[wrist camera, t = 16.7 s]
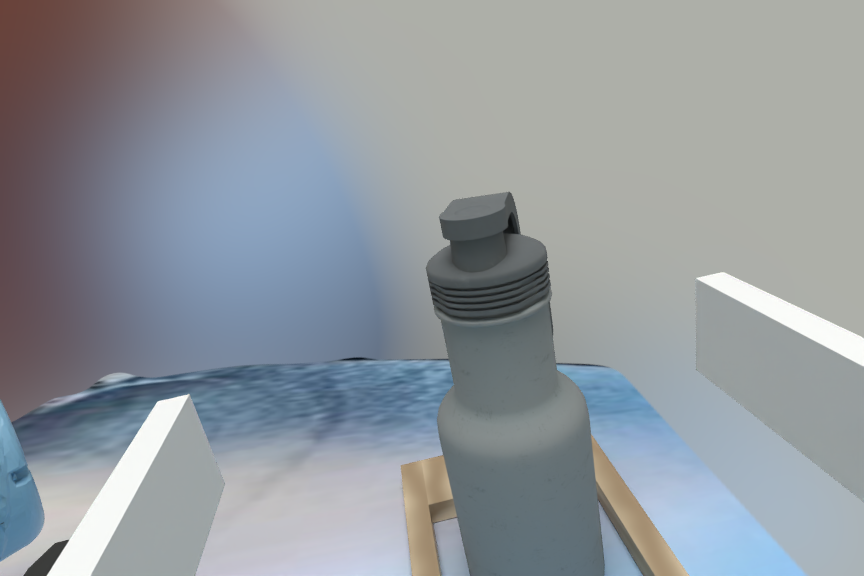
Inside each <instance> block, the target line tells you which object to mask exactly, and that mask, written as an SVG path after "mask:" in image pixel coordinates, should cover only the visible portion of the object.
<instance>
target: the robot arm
mask: <svg viewBox="0 0 864 576" xmlns="http://www.w3.org/2000/svg"><path fill="white" fill-rule="evenodd" d="M696 370H697V371H698V372H700V373H701V374H702V375H703V376H705V377H706V378H707V379H708V380H710V381H711V382H712V383H714V384H715V385H716V386H717V387H719V388H720V389H721V390H722V391H724V392H725V393H726V394H727V395H729V396H730V397H731V398H733V399H734V400H735V401H736V402H738V403H739V404H740V405H741V406H743V407H744V408H745V409H746V410H748V411H749V412H750V413H752V414H753V415H754V416H755V417H757V418H758V419H759V420H760V421H762V422H763V423H764V424H765V425H767V426H768V427H769V428H771V429H772V430H773V431H774V432H776V433H777V434H778V435H779V436H781V437H782V438H783V439H784V440H786V441H787V442H788V443H789V444H791V445H792V446H793V447H795V448H796V449H797V450H798V451H800V452H801V453H802V454H804V455H805V456H806V457H807V458H808V459H810V460H811V461H812V462H814V463H815V464H816V465H817V466H819V467H820V468H821V469H822V470H824V471H825V472H826V473H828V474H829V475H830V476H831V477H833V478H834V479H835V480H836V481H838V482H839V483H840V484H841V485H843V486H844V487H845V488H847V489H848V490H849V491H850V492H852V493H853V494H854V495H855V496H857V497H858V498H859V499H860V500H862V501H863V502H864V338H862V337H860V336H858V335H856V334H854V333H852V332H850V331H848V330H845V329H843V328H841V327H839V326H837V325H835V324H833V323H831V322H828V321H826V320H824V319H822V318H820V317H818V316H816V315H814V314H811V313H809V312H807V311H805V310H803V309H801V308H799V307H796V306H794V305H792V304H790V303H788V302H786V301H784V300H782V299H779V298H777V297H775V296H773V295H771V294H768V293H766V292H765V291H762V290H760V289H758V288H756V287H754V286H752V285H750V284H747V283H745V282H743V281H741V280H739V279H737V278H734V277H732V276H730V275H728V274H726V273H724V272H721V273H717V274H712V275H708V276H704V277H700V278H696ZM27 466H28V464H27V462H26V459H25V457H24V453H23V450H22V448H21V445H20V443H19V440H18V438H17V435H16V433H15V431H14V428H13V426H12V424H11V421H10V419H9V417H8V415H7V413H6V410H5V408H4V406H3V404H2V402H1V400H0V562H1V561H2V560H4V559H5V558H7V557H9V556H10V555H12V554H13V553H15V552H17V551H18V550H20V549H22V548H23V547H25V546H27V545H28V544H30V543H31V542H32V541H33V540H34V539H35V538H36V537H37V536H38V535H39V533H40V532H41V530H42V527H43V524H44V510H43V506H42V503H41V499H40V496H39V493H38V490H37V487H36V485H35V482H34V479H33V477H32V475H31V472H30V470H28V468H27ZM224 485H225V482H224V480H223V477H222V475H221V472H220V470H219V467H218V465H217V462H216V460H215V457H214V455H213V452H212V450H211V447H210V445H209V442H208V440H207V437H206V435H205V432H204V430H203V427H202V425H201V422H200V420H199V417H198V415H197V412H196V410H195V407H194V405H193V402H192V400H191V397H190V395H184V396H180V397H176V398H171V399H167V400H163V401H158V402H157V403H156V405H155V407H154V408H153V410H152V411H151V413H150V414H149V416H148V418H147V419H146V421H145V422H144V424H143V425H142V427H141V429H140V430H139V432H138V433H137V435H136V436H135V438H134V440H133V441H132V443H131V444H130V446H129V447H128V449H127V451H126V452H125V454H124V455H123V457H122V458H121V460H120V462H119V463H118V465H117V466H116V468H115V469H114V471H113V473H112V474H111V476H110V477H109V479H108V480H107V482H106V484H105V485H104V487H103V488H102V490H101V491H100V493H99V494H98V496H97V498H96V499H95V501H94V502H93V504H92V505H91V507H90V509H89V510H88V512H87V513H86V515H85V516H84V518H83V520H82V521H81V523H80V524H79V526H78V527H77V529H76V531H75V532H74V534H73V535H72V537H71V538H70V540H66V541H62V542H58V543H55V544H54V545H53V546H52V547H51V548H50V549H48V550H47V551H46V552H45V553H44V554H43V555H42V556H41V557H40V558H39V559H38V560H37V561H36V562H35V563H34V564H33V565H32V566H31V567H29V568H28V570H27V571H26V573H25V574H24V576H195V574H196V571H197V568H198V565H199V562H200V559H201V556H202V553H203V550H204V547H205V544H206V541H207V537H208V534H209V531H210V528H211V525H212V522H213V519H214V516H215V513H216V510H217V507H218V504H219V501H220V498H221V495H222V492H223V489H224Z"/></svg>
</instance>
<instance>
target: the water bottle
mask: <svg viewBox="0 0 864 576" xmlns="http://www.w3.org/2000/svg"><path fill="white" fill-rule="evenodd" d="M439 218H440V223H441V228H442V233H443V237H444V238H445V239H447V240H450V245H449V246H447V247H445V248H443V249H442V250H441V251H439V252H438V253H437V254H436V255H434V256H433V257H432V258H431V259H430V260H429V262H428V264H427V267H426V271H427V276H428V281H429V286H430V291H431V295H432V300H433V305H434V311H435V314H436V315H437V317H438V318H439V319H441V323H442V328H443V332H444V338H445V343H446V347H447V352H448V357H449V362H450V367H451V372H452V377H453V382H454V385H453V386H452V388H451V389H450V390H449V391H448V392H447V394H446V395H445V397H444V399H443V401H442V403H441V405H440V407H439V411H438V417H437V424H438V432H439V438H440V443H441V447H442V452H443V456H444V460H445V465H446V469H447V474H448V478H449V483H450V487H451V492H452V496H453V501H454V505H455V509H456V514H457V518H458V523H459V527H460V532H461V536H462V541H463V545H464V550H465V554H466V559H467V563H468V567H469V572H470V576H604V555H603V545H602V535H601V526H600V516H599V506H598V497H597V487H596V478H595V468H594V458H593V449H592V439H591V430H590V420H589V413H588V408H587V404H586V400H585V397H584V395H583V393H582V392H581V390H580V389H579V387H578V386H577V385H576V384H575V383H574V382H573V381H572V380H571V379H570V378H569V377H567V376H566V375H564V374H563V373H561V372H559V371H558V370H557V368H556V360H555V352H554V344H553V325H552V316H551V308H550V299H551V296H552V292H551V288H550V286H551V283H550V280H549V278H550V275H549V273H548V272H549V268H548V261H547V252H546V248H545V246H544V245H543V244H542V243H541V242H540V241H538V240H536V239H533V238H530V237H528V236H524V235H521V234H520V227H519V221H518V215H517V211H516V206H515V202H514V199H513V196H512V194H511V193H510V192H506V193H499V194H492V195H485V196H479V197H471V198H464V199H457V200H453V201H452V202H451V203H450V204H449V206H448V207H447V208H446V210H445V211H444V212H443V213H441V214H440V216H439Z"/></svg>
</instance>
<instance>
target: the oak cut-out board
mask: <svg viewBox="0 0 864 576" xmlns="http://www.w3.org/2000/svg"><path fill="white" fill-rule="evenodd" d="M591 439H592V449H593V458H594V468H595V478H596V487H597V497H598V500H599V502H600V503H601V505H602V507H603V508H604V510H605V512H606V513H607V515H608V517H609V519H610V520H611V522H612V524H613V525H614V527H615V529H616V530H617V532H618V534H619V535H620V537H621V539H622V540H623V542H624V544H625V545H626V547H627V549H628V550H629V552H630V554H631V556H632V557H633V559H634V561H635V562H636V564H637V566H638V567H639V569H640V571H641V572H642V574H643V576H689V575H688V573H687V572H686V571H685V569H684V568H683V566H682V565H681V563H680V562H679V560H678V559H677V558H676V556H675V555H674V553H673V552H672V550H671V549H670V547H669V546H668V545H667V543H666V542H665V540H664V539H663V537H662V536H661V534H660V533H659V531H658V530H657V529H656V527H655V526H654V524H653V523H652V521H651V520H650V518H649V517H648V516H647V514H646V513H645V511H644V510H643V508H642V507H641V505H640V504H639V503H638V501H637V500H636V498H635V497H634V495H633V494H632V492H631V491H630V490H629V488H628V487H627V485H626V484H625V482H624V481H623V479H622V478H621V476H620V475H619V474H618V472H617V471H616V469H615V468H614V466H613V465H612V463H611V462H610V461H609V459H608V458H607V456H606V455H605V453H604V452H603V450H602V449H601V448H600V446H599V445H598V443H597V442H596V440H595V439H594V437H593V436H592V435H591ZM401 473H402V482H403V492H404V502H405V511H406V521H407V530H408V540H409V550H410V559H411V569H412V576H442V574H441V568H440V562H439V556H438V550H437V544H436V538H435V532H434V526H433V523H435V522H439V521H443V520H447V519H451V518H455V517H457V514H456V509H455V505H454V501H453V496H452V492H451V487H450V483H449V478H448V474H447V469H446V465H445V460H444V456H443V455H442V456H438V457H434V458H429V459H425V460H421V461H417V462H413V463H409V464H405V465H401Z"/></svg>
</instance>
